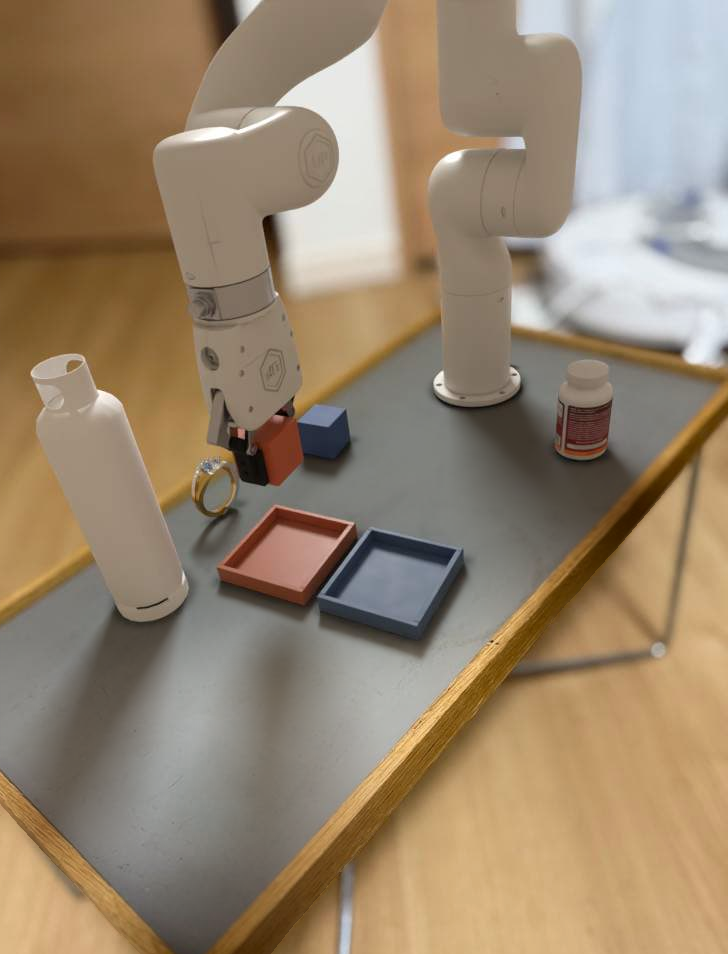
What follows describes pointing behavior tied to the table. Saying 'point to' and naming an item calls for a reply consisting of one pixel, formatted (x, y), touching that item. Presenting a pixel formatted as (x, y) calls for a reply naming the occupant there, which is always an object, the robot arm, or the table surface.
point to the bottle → (108, 489)
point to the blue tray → (392, 581)
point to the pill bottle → (584, 410)
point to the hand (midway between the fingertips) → (270, 465)
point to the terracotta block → (278, 447)
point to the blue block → (324, 431)
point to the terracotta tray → (288, 553)
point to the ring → (199, 491)
